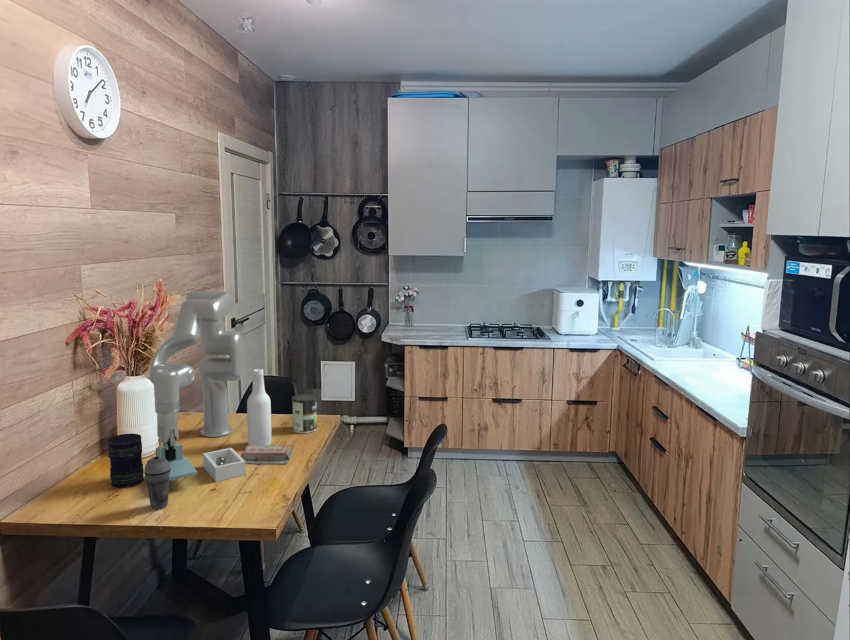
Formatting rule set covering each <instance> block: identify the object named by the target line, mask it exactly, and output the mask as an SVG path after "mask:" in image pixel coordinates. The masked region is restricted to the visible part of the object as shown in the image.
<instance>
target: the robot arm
mask: <svg viewBox="0 0 850 640" xmlns="http://www.w3.org/2000/svg"><path fill="white" fill-rule="evenodd" d="M233 308H234V298H233V296H232V294H231V293H230V292H228V291H213V290H195V291H190V292H188V293H187V294H186V299H185V301H183V302H182V304H181V306H180V308H179V309H180V310H179V313H178V317H177V319H176V320H177V321H176V323H175V327H174V332H173V335H172V336H171V337H169V338H168V339H166V341H165V342H163V343H162V345H160V347H158V349H157V350H156V352H155V353H154V355H153V357H152V362H151V365H150V369H149V380H150V382H151V383H152V384H153V390H154V391H153V392H154V393H153V394H154V395H153V396H154V413H156V415H157V419H156V423H157V427H156V436H157V437H158V439H159V440H160V442H161V443H162V444H163V446H162V447H164V446H166V450H165V459H166V460H167V461H171V460H175V459H176V449H175V444H176V441H178V440H179V425H178V424H179V422H178V413H177V412H178V411H180V409H181V408H180V388H184V387H188V386H189V385H191V384H192V383H193V381H194V380H195V376H196V372H195V369H194V368H193V366H191V365H189V364H182V363H181V364H177V363H167V361H168V359H169V358H170V357H171V356H172V355H174V354H176V353H177V352H180V351H182V350H185V349H187V348H190V347H192V346H194V345H197V343H198V342H199V339H200V343H201V349H202V351H203V352H204V354H207V355H212V356H207V357H204V358H203V359H201V361H200V362H199V365H198V371H199V377H200V380H201V388H202V406H203V407H202V411H203V427H202V428H201V429H200V430H199V434H200V436H202V437H205V438H219V437H223V436H227V435H230V434H231V433H232V432H233V426H231V425H230V424H229V403H228V402H229V401H228V399H229V398H228V397H229V396H228V389H227V386H226V385H225V383H224V382H237V381H238V382H239V381H240V380H242V379H244V378H243V377H244V376H245V369H246V367H245V354H244V353H245V351H244V340H243V336H242V335H241V334H240V333H239V332H237V331H233V330H232V331H229V330H227V331H226V330H224V327H223V326H224V324H223V319H224V318H226V317H227V316H228V315H229V314H230V313H231V312H232V310H233ZM213 355H217V356H213ZM218 355H219V356H218ZM220 355H221V356H220ZM227 356H228V357H227Z"/></svg>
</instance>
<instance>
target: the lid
mask: <svg viewBox="0 0 850 640" xmlns="http://www.w3.org/2000/svg"><path fill="white" fill-rule="evenodd" d="M175 449H176V459H175V460H171V461H168V462H169V464H170V468H171V470H170V475H169V482H170V481H173V480H178V479H183V478H189V477H192V476H196V475H198V471H197V469H196V468H195V467H194V466H193V464H192V463H191V462H190V460H189V459H188V458H187V456H184V453H183V452H184V450H183V449H184V448H183V444H182V443H175ZM165 450H166V446H161V454H160V457H163V458H165ZM158 455H159V446H158V447H156V448H155V457H158Z"/></svg>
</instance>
